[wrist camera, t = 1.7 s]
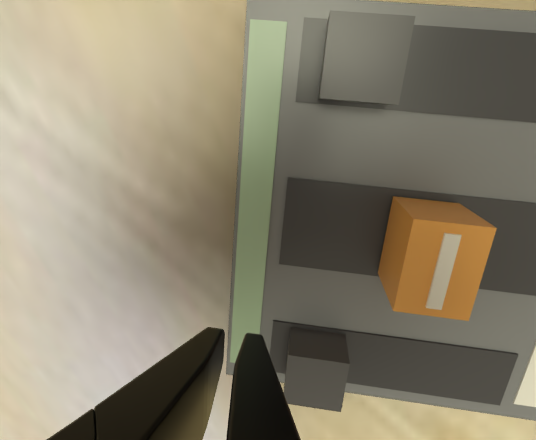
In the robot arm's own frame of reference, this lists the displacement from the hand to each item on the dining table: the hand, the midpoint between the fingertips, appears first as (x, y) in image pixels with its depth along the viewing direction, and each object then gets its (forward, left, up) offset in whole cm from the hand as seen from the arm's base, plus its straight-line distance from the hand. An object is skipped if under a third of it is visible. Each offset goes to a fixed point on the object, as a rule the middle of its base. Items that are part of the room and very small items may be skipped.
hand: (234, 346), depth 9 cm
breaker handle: (-7, 0, -10) cm, 12 cm away
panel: (-7, 0, -12) cm, 14 cm away
